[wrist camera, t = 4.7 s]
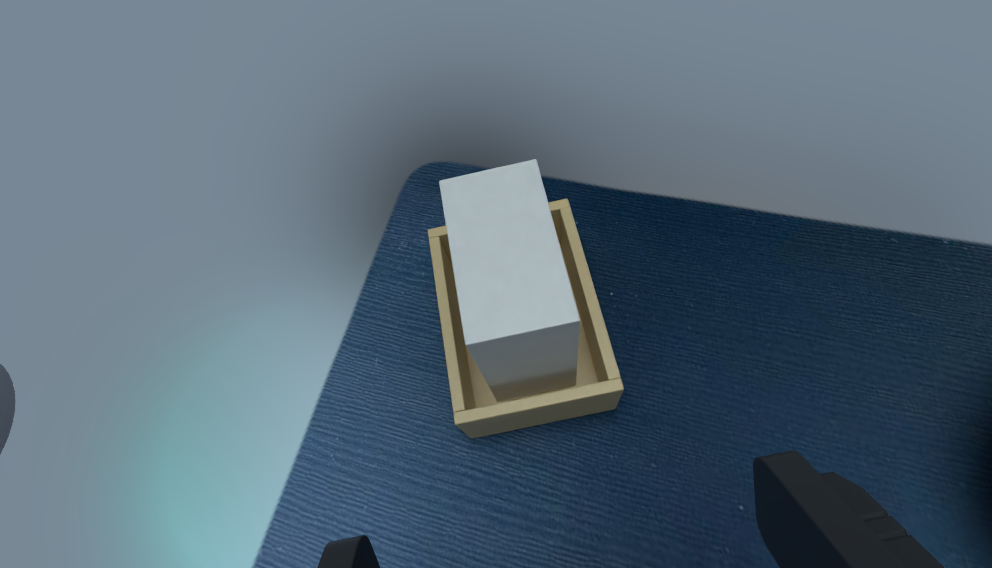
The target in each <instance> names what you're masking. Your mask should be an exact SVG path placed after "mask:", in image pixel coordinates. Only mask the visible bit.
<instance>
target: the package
mask: <svg viewBox="0 0 992 568" xmlns="http://www.w3.org/2000/svg"><path fill="white" fill-rule="evenodd" d="M439 184H440V190H441V197H442V203H443V209H444V215H445V222H446V228H447V234H448V241H449V247H450V253H451V259H452V266H453V272H454V278H455V284H456V291H457V297H458V303H459V309H460V316H461V322H462V328H463V334H464V341H465V345H466V347H467V349H468V351H469V352H470V354H471V356H472V358H473V359H474V361H475V363H476V365H477V367H478V368H479V370H480V372H481V374H482V376H483V377H484V379H485V381H486V383H487V384H488V386H489V388H490V390H491V392H492V393H493V395H494V397H495V399H496V401H497V402H499V401H504V400H509V399H513V398H518V397H523V396H528V395H532V394H537V393H542V392H547V391H552V390H556V389H561V388H566V387H571V386H575V385H576V374H577V360H578V345H579V330H580V317H579V314H578V310H577V306H576V303H575V299H574V295H573V292H572V288H571V284H570V281H569V277H568V273H567V270H566V266H565V262H564V259H563V255H562V252H561V248H560V244H559V241H558V237H557V233H556V230H555V226H554V222H553V219H552V215H551V211H550V208H549V204H548V200H547V197H546V193H545V190H544V186H543V182H542V179H541V175H540V171H539V168H538V164H537V161H536V159H534V160H529V161H525V162H520V163H516V164H512V165H507V166H503V167H498V168H494V169H489V170H485V171H481V172H476V173H472V174H467V175H463V176H458V177H454V178H450V179H445V180H441V181H439Z"/></svg>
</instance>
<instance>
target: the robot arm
mask: <svg viewBox="0 0 992 568" xmlns="http://www.w3.org/2000/svg"><path fill="white" fill-rule="evenodd" d="M753 472H754V488H755V504H756V518H757V523H758V527H759V530H760V533H761V535H762V538H763V540H764V542H765V544H766V546H767V548H768V550H769V551H770V553H771V554H772V556H773V557H774V559H775V560H776V562H777V564H778V565H779V567H780V568H944V567H943V566H942V565H941V564H940V563H939V562H938V561H937V560H936V559H935V558H934V557H933V556H932V555H931V554H930V553H929V552H928V551H927V550H926V549H925V548H923V547H922V546H921V545H920V544H919V543H918V542H917V541H916V540H915V539H914V538H913V537H912V536H911V535H910V536H909V535H908V534H907V533H906V530H905V529H904V528H903V527H902V526H901V525H900V524H899V523H898V522H897V521H896V520H895V519H894V518H893V517H892V516H888V515H887V513H886V510H884V509H883V508H882V507H881V506H880V505H879V504H878V503H877V502H876V501H875V500H874V499H873V498H872V497H871V496H870V495H869V494H868V493H867V492H866V491H865V490H864V489H863V488H861V487H859V486H857V485H856V484H854V483H852V482H850V481H848V480H847V479H845V478H843V477H841V476H839V475H838V474H836V473H834V472H830V473H825V474H819V473H818V472H817V471H816V470H815V469H814V468H813V467H812V466H811V465H810V464H809V463H808V462H807V461H806V460H805V459H804V458H803V456H801V455H800V454H799V453H798V452H796V451H787V452H782V453H777V454H772V455H767V456H762V457H757V458H755V459H754V462H753ZM318 568H380V566H379V563H378V561H377V558H376V555H375V553H374V550H373V548H372V545H371V542H370V540H369V539H368V537H367V536H365V535H362V536H357V537H352V538H347V539H342V540H337V541H332V542H329V543H328V544H327V545H326V547H325V549H324V551H323V554H322V557H321V560H320V562H319V565H318Z"/></svg>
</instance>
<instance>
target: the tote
mask: <svg viewBox="0 0 992 568" xmlns="http://www.w3.org/2000/svg"><path fill="white" fill-rule="evenodd" d="M548 204H549V208H550V211H551V215H552V219H553V222H554V226H555V230H556V233H557V237H558V241H559V244H560V248H561V252H562V255H563V259H564V262H565V266H566V270H567V273H568V277H569V281H570V284H571V288H572V292H573V295H574V299H575V303H576V306H577V310H578V314H579V317H580V330H579V345H578V360H577V374H576V385H575V386H571V387H566V388H561V389H556V390H552V391H547V392H542V393H537V394H532V395H528V396H523V397H518V398H513V399H509V400H504V401H499V402H497V401H496V399H495V397H494V395H493V393H492V392H491V390H490V388H489V386H488V384H487V383H486V381H485V379H484V377H483V376H482V374H481V372H480V370H479V368H478V367H477V365H476V363H475V361H474V359H473V358H472V356H471V354H470V352H469V351H468V349H467V347H466V345H465V341H464V334H463V328H462V322H461V316H460V309H459V303H458V297H457V291H456V284H455V278H454V272H453V266H452V259H451V253H450V247H449V241H448V234H447V228H446V226H442V227H437V228H433V229H428V235H429V242H430V249H431V256H432V264H433V271H434V278H435V285H436V292H437V299H438V307H439V314H440V321H441V328H442V335H443V342H444V350H445V357H446V364H447V371H448V378H449V385H450V393H451V400H452V407H453V412H454V421H455V425H456V426H458V427H459V428H460V429H461V430H462V431H463V432H464V433H465V434H466V435H467V436H469V437H470V438H471V439H473V438H478V437H483V436H488V435H493V434H497V433H502V432H507V431H512V430H517V429H521V428H526V427H531V426H536V425H541V424H546V423H550V422H555V421H560V420H565V419H570V418H575V417H579V416H584V415H589V414H594V413H599V412H603V411H608V410H613V409H616V407H617V404H618V402H619V399H620V397H621V395H622V392H623V390H624V387H623V384H622V380H621V378H620V373H619V370H618V367H617V363H616V360H615V356H614V353H613V350H612V346H611V343H610V340H609V336H608V333H607V329H606V326H605V323H604V319H603V316H602V313H601V309H600V306H599V303H598V299H597V296H596V292H595V289H594V286H593V282H592V279H591V276H590V272H589V269H588V265H587V262H586V259H585V255H584V252H583V249H582V245H581V242H580V238H579V235H578V232H577V228H576V225H575V222H574V218H573V215H572V212H571V208H570V205H569V201H568V199H563V200H559V201H554V202H550V203H548Z"/></svg>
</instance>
